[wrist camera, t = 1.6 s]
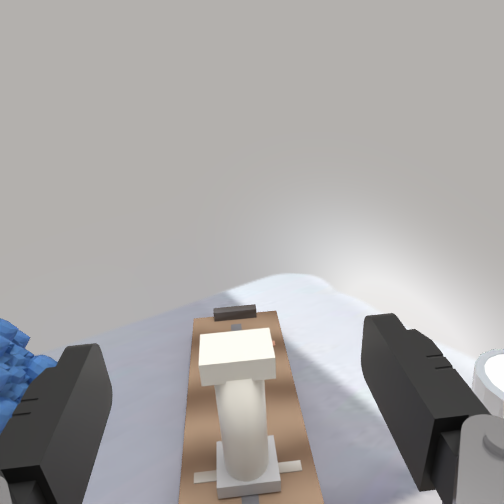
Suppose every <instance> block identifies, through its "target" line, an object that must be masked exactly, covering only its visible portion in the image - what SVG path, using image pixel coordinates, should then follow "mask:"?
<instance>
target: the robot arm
mask: <svg viewBox="0 0 504 504" xmlns="http://www.w3.org/2000/svg"><path fill="white" fill-rule="evenodd" d="M361 366H362V371H363V375H364V378H365V381H366V383H367V385H368V387H369V389H370V391H371V393H372V395H373V397H374V399H375V401H376V403H377V405H378V408H379V410H380V412H381V414H382V416H383V418H384V420H385V422H386V424H387V426H388V428H389V430H390V432H391V434H392V436H393V438H394V440H395V443H396V445H397V447H398V449H399V451H400V453H401V455H402V457H403V459H404V461H405V463H406V465H407V467H408V469H409V471H410V473H411V475H412V478H413V480H414V482H415V484H416V486H417V488H418V490H419V492H421V491H428V490H436V491H437V492H438V494H439V496H440V498H441V500H442V504H504V418H501V417H498V416H494V415H492V414H491V413H490V412H489V411H488V410H487V408H486V407H485V406H484V405H483V403H482V402H481V401H480V400H479V398H478V397H477V396H476V395H475V393H474V392H473V391H472V390H471V388H470V387H469V386H468V385H467V383H466V382H465V381H464V380H463V378H462V377H461V376H460V375H459V373H458V372H457V371H456V370H455V369H453V368H452V365H451V363H450V362H449V361H448V360H447V359H446V357H443V354H442V352H441V351H440V350H439V349H438V347H437V346H436V345H435V344H434V342H433V341H432V340H431V339H429V338H428V337H426V336H425V335H423V334H421V333H420V332H419V331H417V330H416V329H412V330H406V328H405V327H404V326H403V324H402V323H401V322H400V320H399V319H398V317H397V316H396V315H395V314H393V313H389V314H379V315H370V316H366V317H365V319H364V327H363V339H362V351H361ZM111 405H112V386H111V382H110V379H109V375H108V372H107V369H106V365H105V362H104V359H103V355H102V352H101V349H100V347H99V345H98V344H96V343H95V344H85V345H75V346H68V347H66V348H65V350H64V352H63V353H62V355H61V357H60V359H59V361H58V363H57V365H56V367H49V368H46V369H45V370H44V371H43V372H42V373H41V374H40V375H39V376H37V377H36V378H35V379H34V380H33V381H32V382H31V383H30V385H29V386H28V388H27V390H26V391H25V393H24V395H23V397H22V398H21V402H20V403H19V404H18V405H17V407H16V408H15V410H14V412H13V414H12V418H10V419H9V420H8V422H7V424H6V426H5V427H4V429H3V431H2V432H1V434H0V504H82V502H83V498H84V495H85V492H86V489H87V485H88V482H89V479H90V475H91V472H92V469H93V466H94V462H95V459H96V456H97V452H98V449H99V446H100V443H101V439H102V436H103V433H104V429H105V426H106V423H107V420H108V416H109V413H110V410H111Z"/></svg>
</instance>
